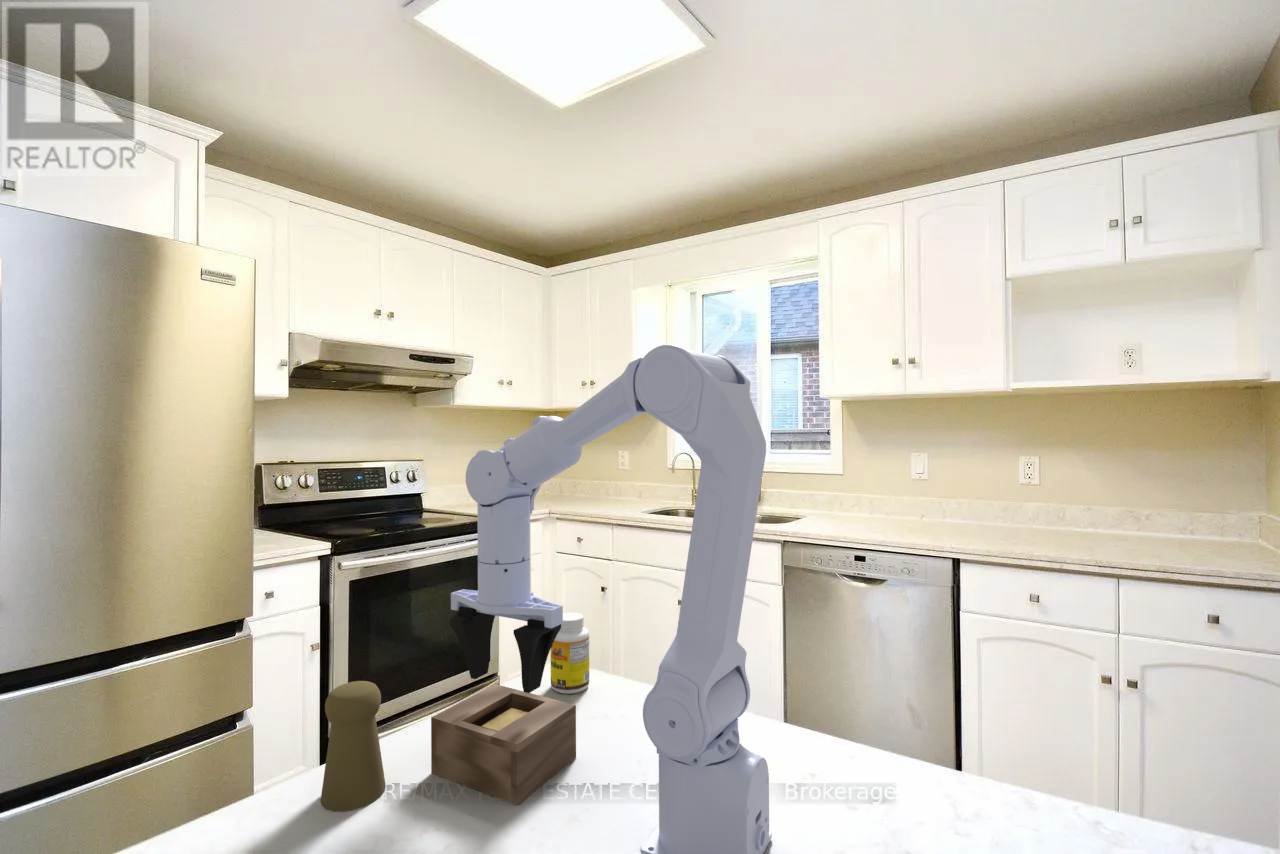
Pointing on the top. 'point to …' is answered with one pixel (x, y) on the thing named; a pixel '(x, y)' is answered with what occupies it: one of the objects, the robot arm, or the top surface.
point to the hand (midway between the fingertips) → (504, 682)
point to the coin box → (503, 742)
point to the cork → (353, 748)
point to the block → (504, 719)
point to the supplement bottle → (570, 656)
